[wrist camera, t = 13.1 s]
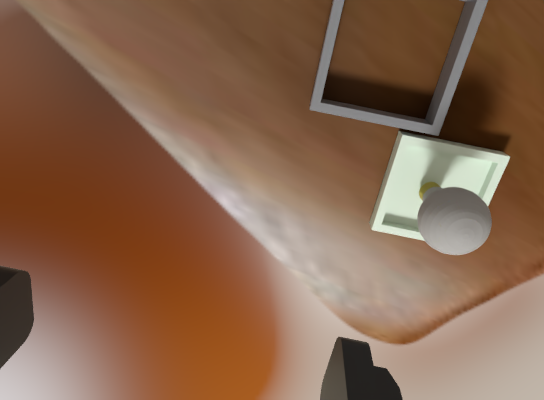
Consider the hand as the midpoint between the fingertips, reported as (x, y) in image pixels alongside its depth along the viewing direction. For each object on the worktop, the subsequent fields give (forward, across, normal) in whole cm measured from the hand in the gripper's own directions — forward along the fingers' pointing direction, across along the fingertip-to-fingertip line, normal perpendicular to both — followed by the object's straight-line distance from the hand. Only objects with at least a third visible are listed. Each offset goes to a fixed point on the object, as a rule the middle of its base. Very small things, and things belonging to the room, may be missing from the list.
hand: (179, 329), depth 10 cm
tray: (+30, -17, +4) cm, 35 cm away
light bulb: (+30, -16, +4) cm, 34 cm away
